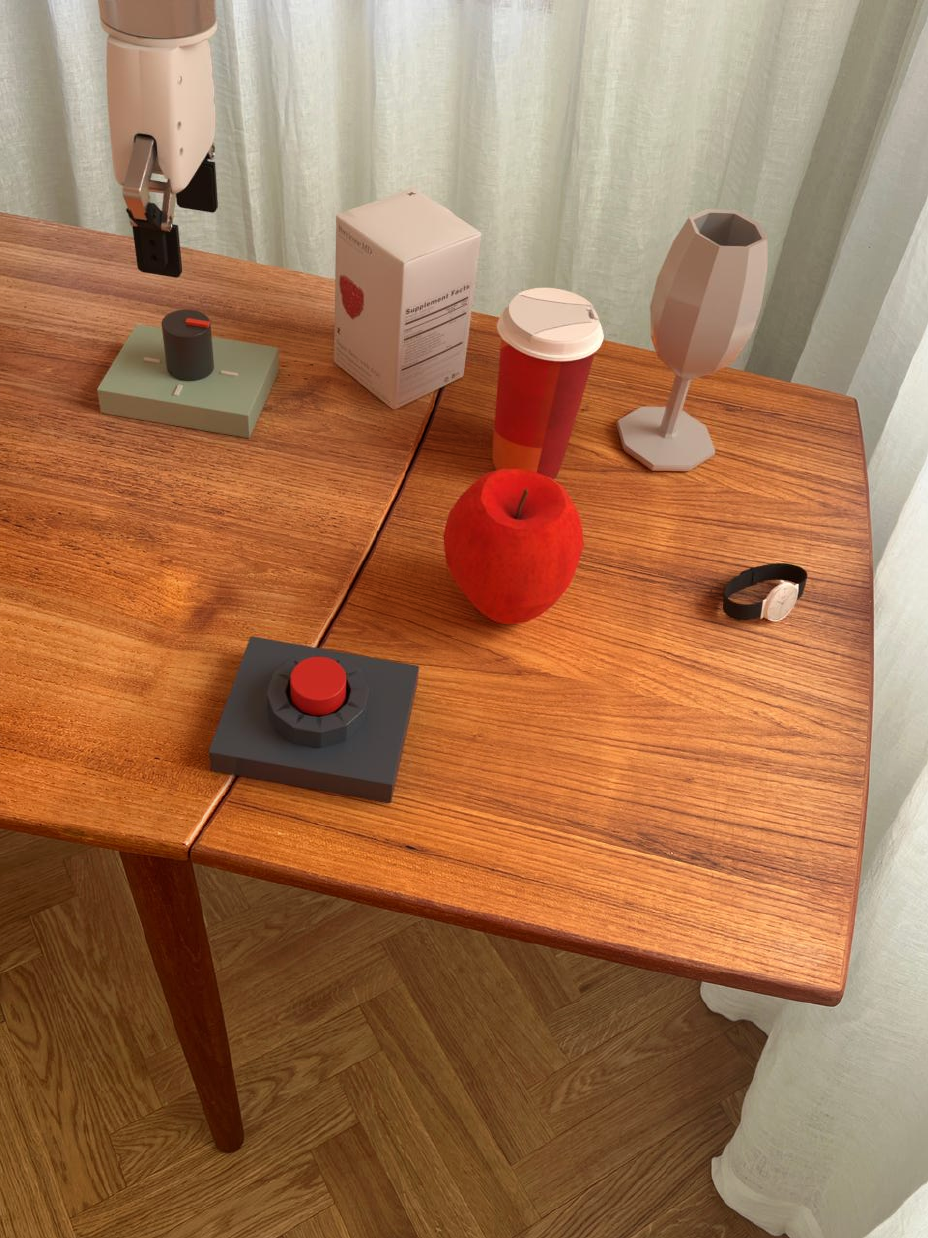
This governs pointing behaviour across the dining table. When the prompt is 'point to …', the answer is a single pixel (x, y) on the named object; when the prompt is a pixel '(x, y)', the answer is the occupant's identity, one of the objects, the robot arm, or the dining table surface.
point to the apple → (513, 544)
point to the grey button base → (316, 723)
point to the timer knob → (188, 344)
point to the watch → (777, 599)
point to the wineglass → (698, 329)
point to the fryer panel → (190, 385)
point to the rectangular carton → (403, 295)
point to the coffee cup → (542, 377)
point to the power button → (318, 686)
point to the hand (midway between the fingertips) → (179, 239)
